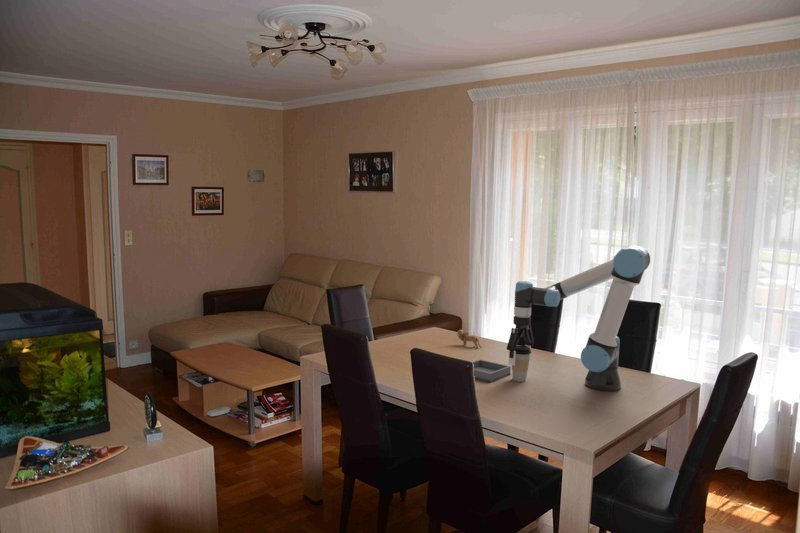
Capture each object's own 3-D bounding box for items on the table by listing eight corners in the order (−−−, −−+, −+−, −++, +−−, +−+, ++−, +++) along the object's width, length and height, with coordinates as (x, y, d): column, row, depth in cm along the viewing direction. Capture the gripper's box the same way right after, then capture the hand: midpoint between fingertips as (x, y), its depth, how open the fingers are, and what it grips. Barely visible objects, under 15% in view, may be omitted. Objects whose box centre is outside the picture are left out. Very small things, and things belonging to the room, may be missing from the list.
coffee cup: (528, 377, 278) (530, 345, 276) (531, 383, 269) (532, 350, 267) (507, 376, 279) (509, 344, 277) (509, 382, 270) (511, 349, 268)
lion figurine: (455, 346, 333) (455, 330, 332) (458, 344, 338) (459, 328, 337) (480, 349, 327) (481, 333, 326) (483, 347, 332) (484, 331, 330)
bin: (510, 374, 281) (510, 366, 281) (490, 382, 269) (490, 373, 268) (479, 367, 292) (480, 359, 292) (459, 374, 280) (459, 366, 279)
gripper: (528, 311, 282) (526, 355, 285) (500, 318, 263) (497, 365, 266) (543, 313, 277) (540, 358, 280) (515, 321, 259) (512, 369, 261)
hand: (519, 362), depth 273 cm, fingers open, 13 cm apart
